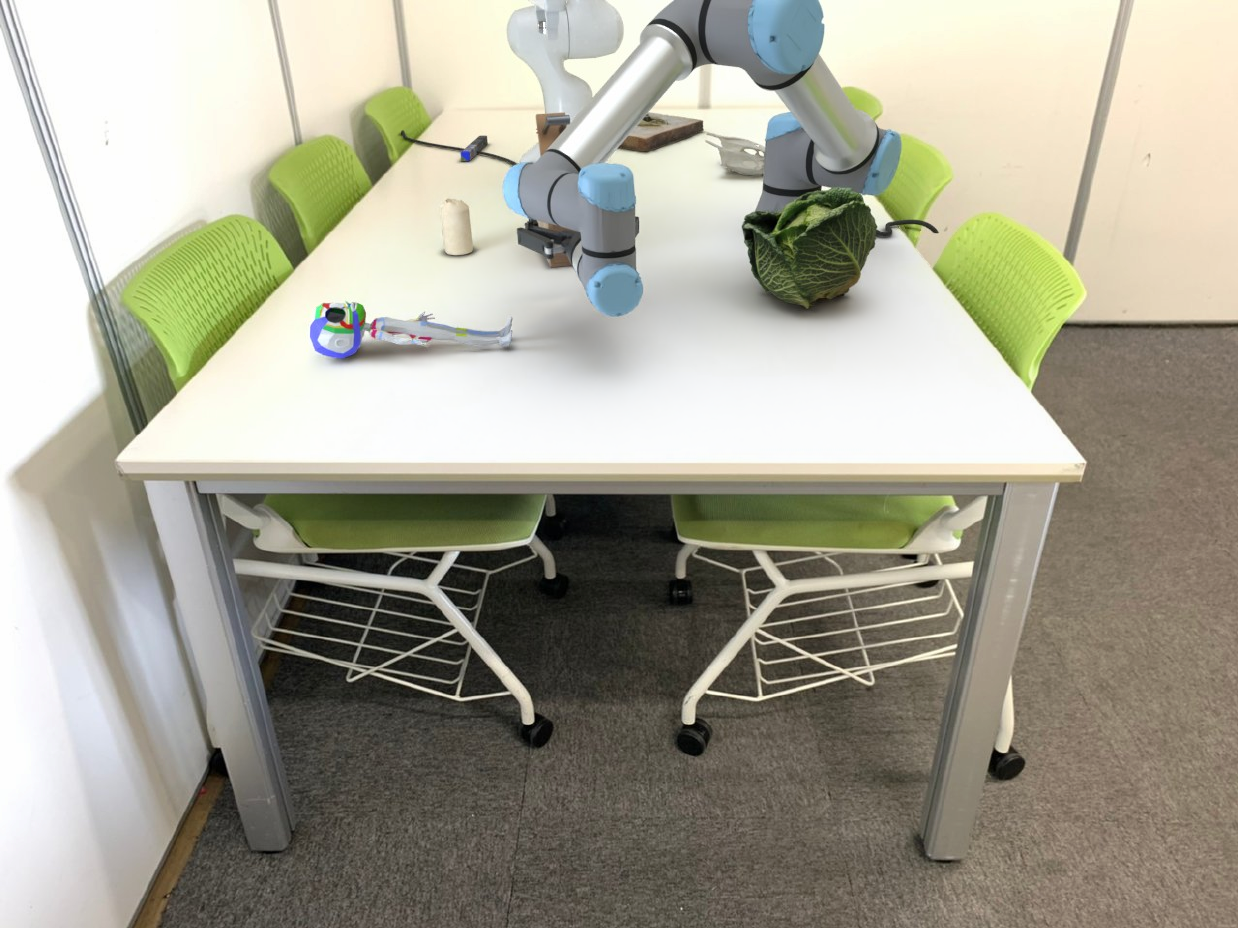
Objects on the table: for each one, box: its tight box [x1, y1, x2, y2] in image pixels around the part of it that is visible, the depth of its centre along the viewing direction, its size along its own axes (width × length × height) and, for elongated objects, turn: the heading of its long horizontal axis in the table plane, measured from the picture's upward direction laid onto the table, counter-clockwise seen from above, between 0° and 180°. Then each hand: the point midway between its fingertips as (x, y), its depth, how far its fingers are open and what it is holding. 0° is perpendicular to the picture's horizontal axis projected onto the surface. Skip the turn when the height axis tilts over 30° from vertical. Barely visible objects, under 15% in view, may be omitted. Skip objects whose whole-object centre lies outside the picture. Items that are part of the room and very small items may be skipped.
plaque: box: [618, 111, 705, 152], centre depth 257 cm, size 30×7×30 cm
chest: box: [537, 220, 576, 268], centre depth 172 cm, size 16×5×10 cm, turn 13°
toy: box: [307, 300, 513, 360], centre depth 136 cm, size 10×8×30 cm
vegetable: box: [741, 187, 878, 310], centre depth 148 cm, size 20×19×20 cm
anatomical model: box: [705, 131, 765, 176], centre depth 220 cm, size 15×9×25 cm
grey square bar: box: [460, 135, 489, 162], centre depth 244 cm, size 2×2×20 cm
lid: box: [535, 112, 570, 157], centre depth 158 cm, size 17×5×9 cm
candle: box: [439, 198, 474, 256], centre depth 173 cm, size 6×6×10 cm
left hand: (547, 36), depth 153 cm, fingers open, 8 cm apart
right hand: (570, 216), depth 153 cm, fingers open, 13 cm apart
